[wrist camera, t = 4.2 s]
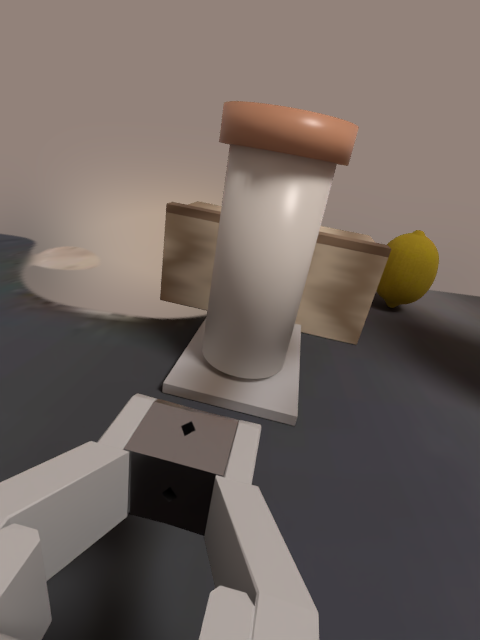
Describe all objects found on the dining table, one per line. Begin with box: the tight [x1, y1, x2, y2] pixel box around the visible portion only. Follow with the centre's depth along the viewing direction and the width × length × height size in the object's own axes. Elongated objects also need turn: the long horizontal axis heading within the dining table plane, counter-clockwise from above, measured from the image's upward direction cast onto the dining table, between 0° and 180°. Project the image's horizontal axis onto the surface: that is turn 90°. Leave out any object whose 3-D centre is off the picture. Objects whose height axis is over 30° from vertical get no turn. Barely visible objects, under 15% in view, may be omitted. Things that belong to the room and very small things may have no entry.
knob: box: [202, 101, 359, 379], centre depth 18 cm, size 6×6×12 cm
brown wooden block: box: [160, 202, 391, 426], centre depth 24 cm, size 16×19×8 cm
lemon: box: [376, 230, 439, 308], centre depth 34 cm, size 6×6×8 cm
